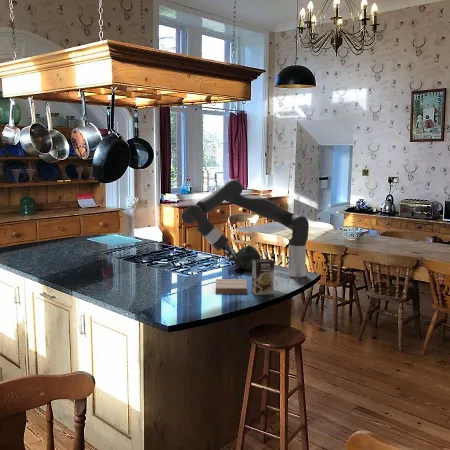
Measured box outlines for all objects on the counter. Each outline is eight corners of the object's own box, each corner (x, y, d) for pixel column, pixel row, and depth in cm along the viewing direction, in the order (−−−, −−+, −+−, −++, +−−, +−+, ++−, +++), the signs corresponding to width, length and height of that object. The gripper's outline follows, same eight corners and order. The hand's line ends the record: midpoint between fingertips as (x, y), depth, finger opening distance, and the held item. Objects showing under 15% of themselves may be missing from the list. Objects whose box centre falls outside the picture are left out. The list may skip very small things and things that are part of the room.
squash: (240, 255, 302) (236, 239, 291) (265, 258, 297) (261, 242, 286) (234, 274, 293) (229, 259, 282) (259, 278, 288) (255, 262, 277)
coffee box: (255, 295, 239) (256, 261, 237) (251, 291, 245) (251, 259, 243) (273, 294, 241) (274, 260, 239) (268, 290, 248) (269, 258, 245)
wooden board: (216, 283, 259) (216, 279, 258) (245, 284, 259) (245, 279, 258) (215, 293, 242) (215, 288, 241) (247, 293, 242) (247, 288, 241)
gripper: (211, 241, 246) (234, 264, 248) (210, 247, 232) (235, 271, 234) (222, 230, 245) (245, 253, 247) (221, 235, 231) (246, 260, 233)
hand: (240, 262), depth 241 cm, fingers open, 8 cm apart
